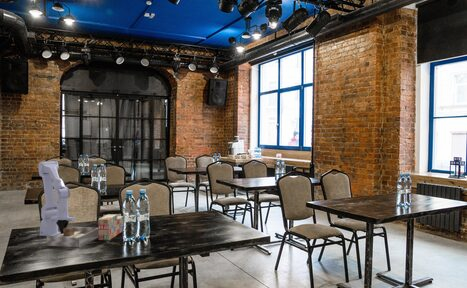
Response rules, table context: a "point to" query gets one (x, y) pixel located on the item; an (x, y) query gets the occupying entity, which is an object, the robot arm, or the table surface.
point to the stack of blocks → (110, 226)
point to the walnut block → (68, 231)
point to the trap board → (74, 237)
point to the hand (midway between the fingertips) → (62, 233)
